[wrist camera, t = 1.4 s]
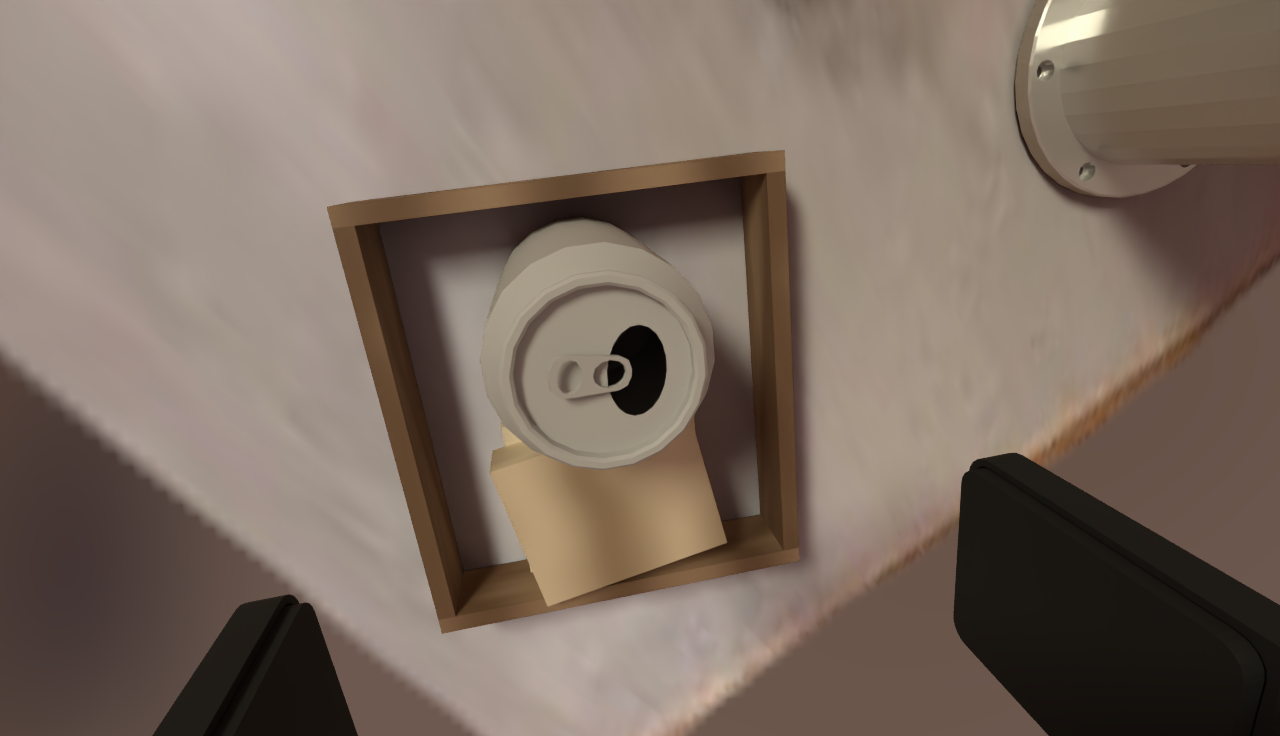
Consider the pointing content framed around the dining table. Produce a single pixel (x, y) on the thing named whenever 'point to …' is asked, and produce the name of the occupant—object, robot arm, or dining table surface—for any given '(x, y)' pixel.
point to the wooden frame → (381, 328)
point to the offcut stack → (605, 514)
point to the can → (595, 346)
